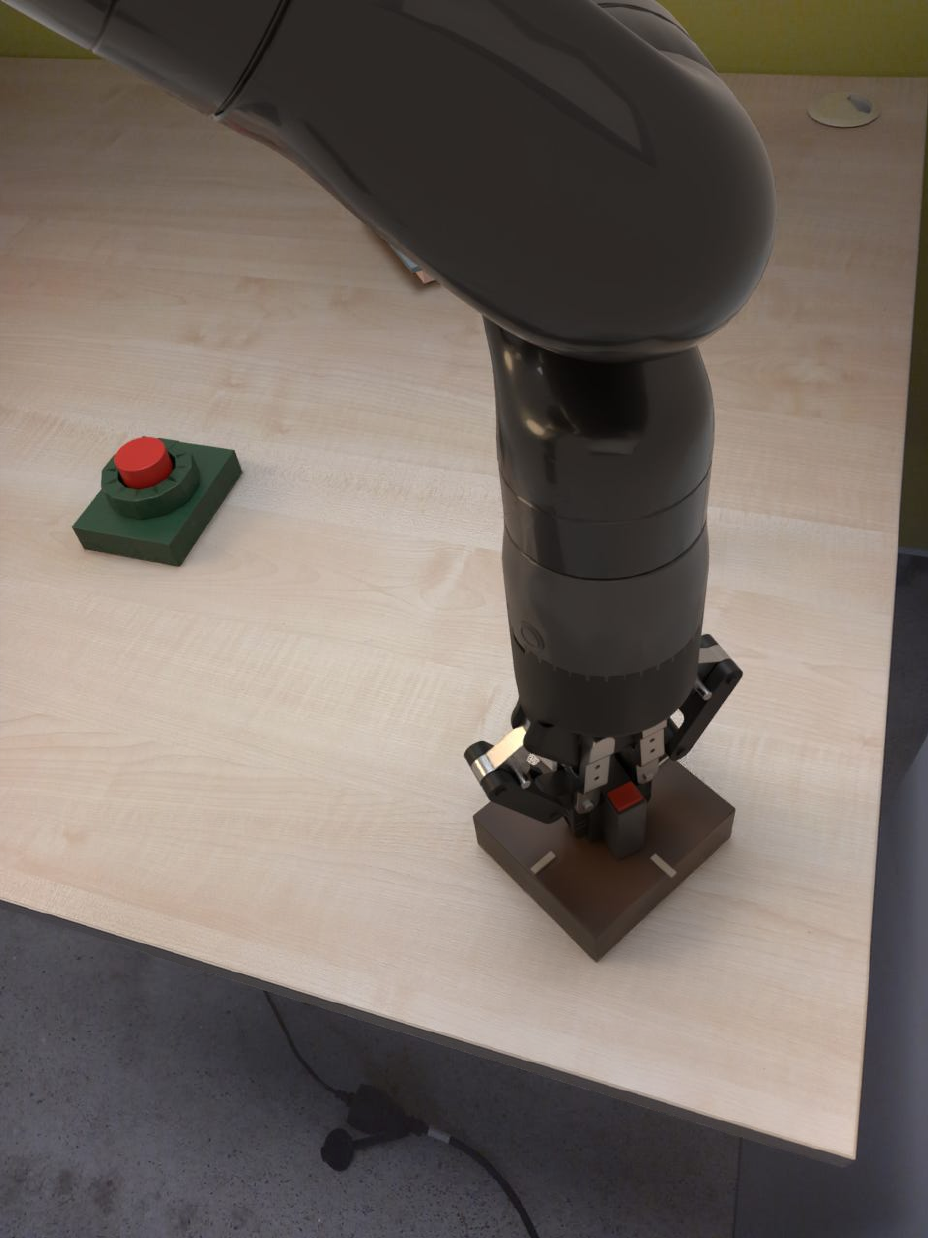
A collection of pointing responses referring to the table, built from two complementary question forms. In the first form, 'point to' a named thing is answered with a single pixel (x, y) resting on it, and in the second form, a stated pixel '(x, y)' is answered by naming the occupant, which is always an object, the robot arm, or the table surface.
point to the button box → (159, 505)
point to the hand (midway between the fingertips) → (605, 816)
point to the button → (143, 462)
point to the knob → (622, 812)
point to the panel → (609, 857)
